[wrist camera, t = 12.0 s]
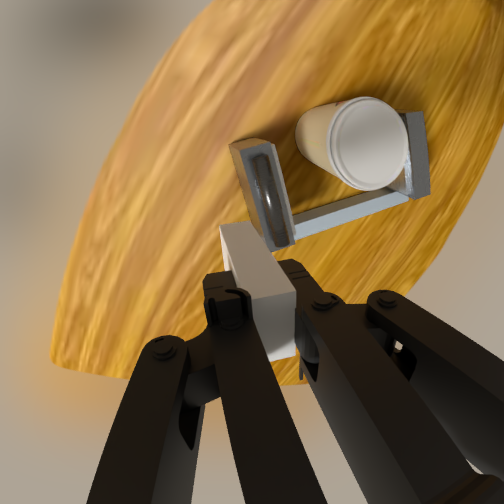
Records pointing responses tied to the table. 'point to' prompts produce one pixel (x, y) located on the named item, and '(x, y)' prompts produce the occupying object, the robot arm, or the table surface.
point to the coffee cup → (355, 141)
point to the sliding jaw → (264, 191)
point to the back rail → (345, 211)
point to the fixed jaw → (414, 158)
